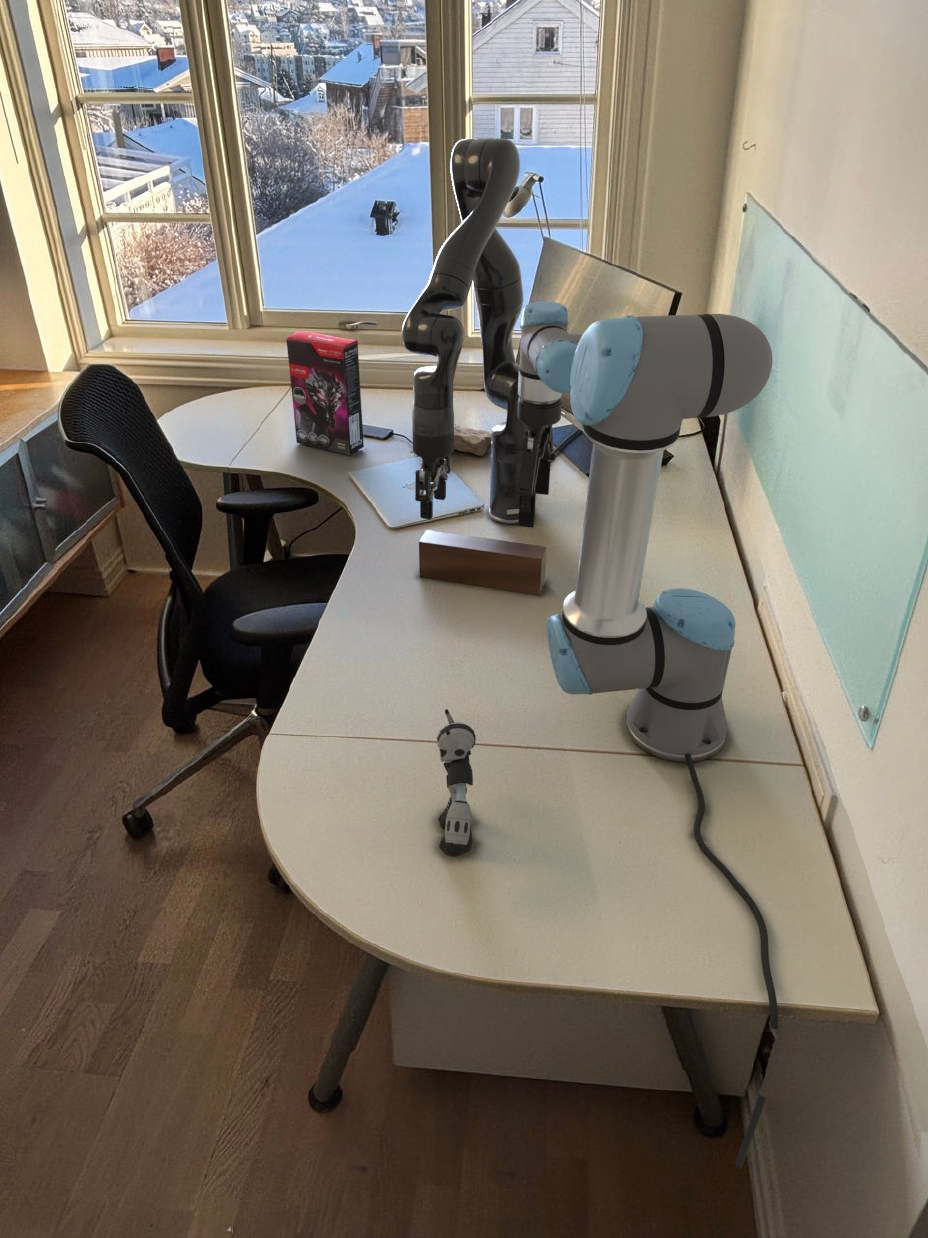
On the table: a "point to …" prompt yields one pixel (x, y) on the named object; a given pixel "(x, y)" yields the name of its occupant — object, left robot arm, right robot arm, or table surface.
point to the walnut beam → (482, 562)
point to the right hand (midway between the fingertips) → (533, 509)
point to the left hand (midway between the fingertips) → (433, 508)
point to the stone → (471, 440)
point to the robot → (456, 785)
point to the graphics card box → (326, 391)
